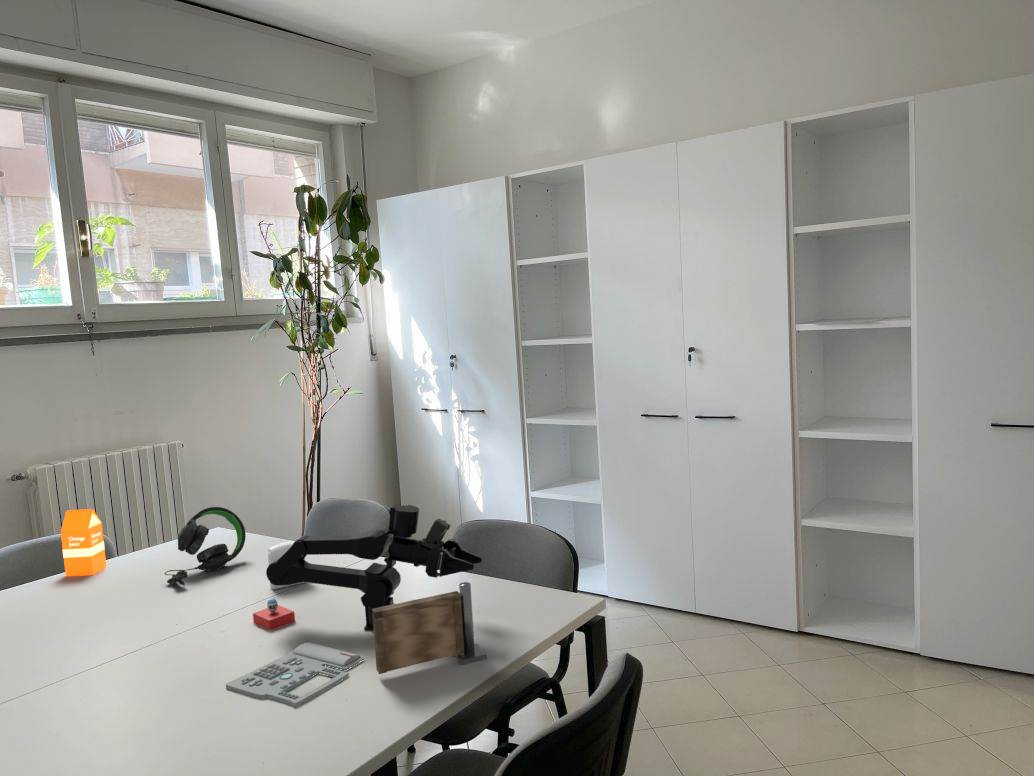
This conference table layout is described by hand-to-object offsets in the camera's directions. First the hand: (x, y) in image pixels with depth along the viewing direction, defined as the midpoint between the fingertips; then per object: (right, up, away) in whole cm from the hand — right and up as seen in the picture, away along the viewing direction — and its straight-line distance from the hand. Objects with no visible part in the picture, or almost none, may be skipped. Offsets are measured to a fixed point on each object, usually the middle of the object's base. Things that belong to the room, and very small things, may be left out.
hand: (477, 563), depth 179 cm
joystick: (-51, -18, +12) cm, 56 cm away
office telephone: (-36, -20, -18) cm, 45 cm away
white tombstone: (-56, -15, +39) cm, 70 cm away
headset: (-85, -15, +55) cm, 102 cm away
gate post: (-1, -17, -14) cm, 22 cm away
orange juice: (-127, -17, +62) cm, 142 cm away
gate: (-11, -16, -19) cm, 27 cm away
